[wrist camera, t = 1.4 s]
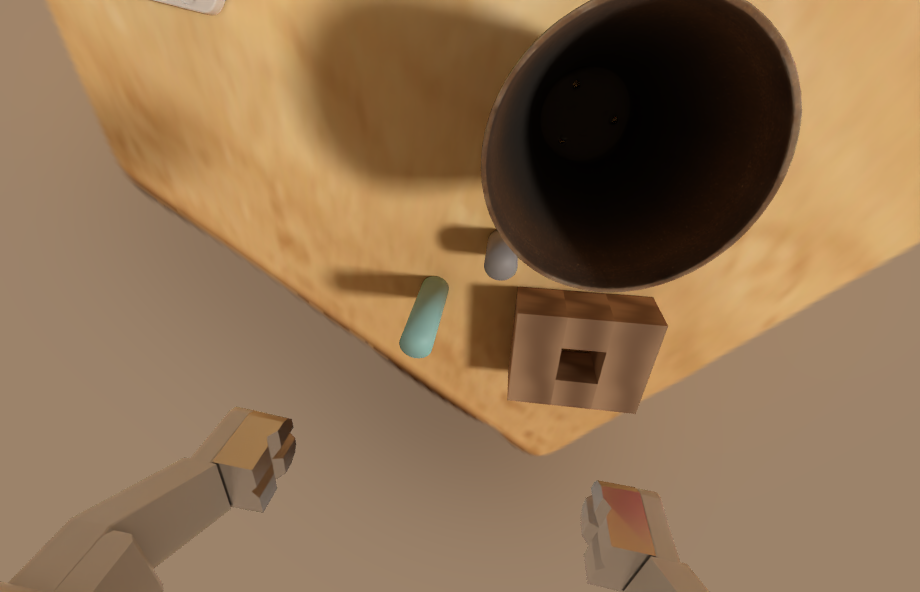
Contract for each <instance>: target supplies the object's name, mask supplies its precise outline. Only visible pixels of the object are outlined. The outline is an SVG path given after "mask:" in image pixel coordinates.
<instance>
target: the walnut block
mask: <svg viewBox="0 0 920 592" xmlns="http://www.w3.org/2000/svg"><path fill="white" fill-rule="evenodd" d="M667 328H668V325H667V323H666V321H665V319H664V317H663V315H662V313H661V312H660V310H659V308H658V306H657V304H656V302H655V300H654V298H653V297H641V296H628V295H616V294H603V293H590V292H578V291H565V290H553V289H540V288H527V287H518V289H517V298H516V307H515V316H514V325H513V334H512V343H511V352H510V361H509V370H508V400H511V401H520V402H529V403H539V404H548V405H558V406H567V407H576V408H586V409H595V410H605V411H614V412H624V413H633V414H636V411H637V408H638V406H639V403H640V400H641V398H642V395H643V392H644V390H645V387H646V384H647V382H648V379H649V376H650V374H651V371H652V368H653V365H654V363H655V360H656V357H657V355H658V352H659V349H660V347H661V344H662V341H663V339H664V336H665V333H666V331H667ZM562 348H565V349H575V350H586V351H591V353H582V352H571V351H561V350H562Z"/></svg>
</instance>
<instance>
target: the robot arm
mask: <svg viewBox="0 0 920 592" xmlns="http://www.w3.org/2000/svg"><path fill="white" fill-rule="evenodd" d="M153 1H157V2H161V3H165V4H169V5H173V6H177V7H180V8H184V9H188V10H192V11H196V12H200V13H204V14H208V15H216V14H218V13H219V12H220V11H221V10H222V8H223V6H224V3H225V0H153ZM292 429H293V422H292V419H290V418H286V417H281V416H276V415H272V414H267V413H263V412H258V411H255V410H250V409H245V408H240V407H235V408H233V409H232V410H230V411H229V412H228V413H227V414H226V416H225V417H224V418H223V419H222V420H221V422H220V423H219V424H218V425H217V427H216V428H215V429H214V430H213V431H212V432H211V434H210V435H209V436H208V437H207V439H206V440H205V441H204V442H203V443H202V445H201V446H200V447H199V448H198V450H197V451H196V452H195V453H194V454H193V456H192V457H191V458H186V457H184V458H182V459H181V460H179V461H177V462H175V463H173V464H171V465H169V466H167V467H166V468H164V469H162V470H160V471H158V472H156V473H154V474H153V475H151V476H149V477H147V478H145V479H143V480H141V481H139V482H138V483H136V484H134V485H132V486H130V487H128V488H127V489H125V490H123V491H121V492H119V493H117V494H115V495H113V496H111V497H110V498H108V499H106V500H104V501H102V502H100V503H99V504H97V505H95V506H93V507H91V508H89V509H87V510H85V511H83V512H82V513H80V514H78V515H76V516H74V517H72V518H71V519H70V520H69V521H68V522H67V523H66V524H65V525H64V526H63V527H62V528H61V529H60V530H59V531H58V532H57V533H56V534H55V535H54V537H52V538H51V539H50V540H49V541H48V542H47V543H46V544H45V545H44V546H43V547H42V548H41V550H40V551H39V552H38V553H37V554H36V555H35V556H34V557H33V558H32V559H31V560H30V561H29V562H28V563H27V564H26V565H25V566H24V567H23V568H22V569H21V570H20V571H19V572H18V573H17V574H16V575H15V576H14V577H13V578H12V579H11V580H10V581H9V582H8V583H5V582H1V581H0V592H163V584H162V582H161V581H160V579H159V577H158V576H157V574H156V573H155V571H154V570H153V569H154V568H155V567H156V566H158V565H159V564H160V563H162V562H163V561H164V560H165V559H167V558H168V557H169V556H171V555H172V554H173V553H175V552H176V551H177V550H178V549H180V548H181V547H182V546H184V545H185V544H186V543H187V542H189V541H190V540H191V539H193V538H194V537H195V536H196V535H198V534H199V533H200V532H202V531H203V530H204V529H205V528H207V527H208V526H210V525H211V524H212V523H213V522H215V521H216V520H217V519H218V518H220V517H221V516H222V515H224V514H225V513H226V512H228V511H229V510H230V509H231V507H235V508H240V509H246V510H251V511H256V512H262V513H263V512H264V510H265V509H266V507H267V505H268V503H269V502H270V500H271V498H272V497H273V495H274V493H275V491H276V489H277V484H276V479H277V478H279V477H281V476H282V475H283V474H285V473H286V472H287V470H288V468H289V466H290V465H291V463H292V460H293V457H294V454H295V449H296V440H295V437H294V436H293V435H292V434H291V433H290V432H291V430H292ZM591 490H592V495H591V496H589V497H587V498H586V499H585V501H584V504H583V507H582V512H581V532H582V536H583V538H584V539H585V541H586V542H587V544H588V545H589V546H588V548H587V550H586V552H585V553H584V558H585V567H586V576H587V583H588V584H592V585H596V586H600V587H604V588H608V589H612V590H616V591H620V592H709V591H708V589H707V588H706V587H705V586H704V585H703V583H702V582H701V581H700V579H699V578H698V577H697V576H696V575H695V573H694V572H693V571H692V570H691V569H690V567H689V566H688V565H687V564H685V563H681V562H680V559H679V556H678V553H677V550H676V546H675V543H674V539H673V536H672V533H671V530H670V526H669V523H668V520H667V517H666V513H665V510H664V507H663V503H662V500H661V497H660V496H659V494H658V493H656V492H653V491H648V490H642V489H637V488H635V487H630V486H625V485H619V484H614V483H609V482H603V481H596V482H594V484H593V486H592V488H591Z"/></svg>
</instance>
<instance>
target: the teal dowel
mask: <svg viewBox="0 0 920 592" xmlns="http://www.w3.org/2000/svg"><path fill="white" fill-rule="evenodd" d="M448 291H449V287H448V284H447V283H446V281H445V280H444V279H442V278H440V277H437V276H430V277H428V278H426V279H425V280H424V281H423V283H422V286H421V288H420V291H419V293H418V296H417V298H416V301H415V303H414V306H413V308H412V311H411V313H410V316H409V318H408V321H407V323H406V326H405V328H404V331H403V333H402V336H401V338H400V342H399V344H400V348H401V350H402V351H403V352H404V353H405V354H406V355H408V356H410V357H413V358H423V357H426V356H428V355H429V354H430V353H431V351H432V347H433V344H434V340H435V337H436V333H437V330H438V326H439V323H440V319H441V316H442V312H443V308H444V305H445V301H446V298H447V294H448Z"/></svg>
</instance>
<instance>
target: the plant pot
mask: <svg viewBox="0 0 920 592" xmlns="http://www.w3.org/2000/svg"><path fill="white" fill-rule="evenodd" d="M574 81H579V83H580V87H578V88H574V87H573V82H574ZM614 116H617V118H618V121H617V122H616V124H613V123H612V120H613V117H614ZM801 116H802V102H801V89H800V83H799V77H798V73H797V69H796V65H795V62H794V60H793V57H792V55H791V53H790V50H789V48H788V46H787V43H786V42H785V40H784V39H783V37H782V36H781V34H780V33H779V32H778V30H777V29H776V28H775V26H774V25H773V24H772V22H771V21H770V20H769V19H768V18H767V17H766V16H765V15H764V14H763V13H762V12H761V11H759V10H758V9H757V8H756V7H755V6H753V5H752V4H751V3H749V2H748V1H746V0H590V1H588V2H586V3H585V4H583V5H581V6H580V7H578V8H576V9H575V10H573V11H572V12H570V13H569V14H567V15H566V16H564V17H563V18H561V19H560V20H558V21H557V22H556V23H555V24H553V25H552V26H551V27H550V28H549V29H547V30H546V31H545V32H544V33H543V34H542V35H541V36H540V37H539V38H538V39H537V40H536V41H535V42H534V43H533V44H532V45H531V46H530V47H529V48H528V50H527V51H526V52H525V53H524V54H523V56H522V57H521V58H520V59H519V61H518V62H517V63H516V65H515V66H514V68H513V69H512V71H511V72H510V74H509V75H508V77H507V79H506V80H505V82H504V84H503V86H502V87H501V90H500V92H499V94H498V96H497V98H496V100H495V102H494V105H493V107H492V110H491V113H490V116H489V119H488V122H487V126H486V130H485V134H484V140H483V145H482V155H481V177H482V186H483V192H484V197H485V201H486V205H487V208H488V211H489V214H490V216H491V219H492V221H493V223H494V225H495V227H496V229H497V231H498V233H499V234H500V236H501V237H502V239H503V240H504V242H505V243H506V244H507V245H508V247H509V248H510V249H511V250H512V251H513V253H514V254H515V255H516V256H517V257H518V258H519V259H520V260H522V261H523V262H524V263H525V264H527V265H528V266H529V267H530V268H532V269H533V270H535V271H536V272H538V273H540V274H541V275H543V276H545V277H547V278H549V279H551V280H553V281H555V282H558V283H561V284H563V285H567V286H570V287H573V288H578V289H582V290H587V291H596V292H626V291H634V290H640V289H645V288H650V287H654V286H657V285H661V284H664V283H667V282H670V281H672V280H675V279H678V278H680V277H682V276H684V275H687V274H689V273H691V272H693V271H695V270H697V269H699V268H700V267H702V266H704V265H706V264H707V263H709V262H710V261H712V260H713V259H715V258H716V257H717V256H719V255H720V254H722V253H723V252H724V251H726V250H727V249H728V248H730V247H731V246H732V245H733V244H734V243H735V242H736V241H737V240H739V239H740V238H741V237H742V236H743V235H744V234H745V233H746V232H747V231H748V230H749V229H750V228H751V227H752V225H753V224H754V223H755V222H756V221H757V220H758V219H759V217H760V216H761V215H762V214H763V212H764V211H765V210H766V208H767V207H768V205H769V204H770V202H771V201H772V199H773V198H774V196H775V195H776V193H777V191H778V189H779V188H780V186H781V184H782V182H783V180H784V178H785V176H786V174H787V172H788V169H789V167H790V164H791V162H792V159H793V156H794V153H795V149H796V145H797V141H798V136H799V132H800V126H801ZM560 139H562V140H563V141H565V142H564V143H562V144H561V143H560V142H559V140H560Z"/></svg>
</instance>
